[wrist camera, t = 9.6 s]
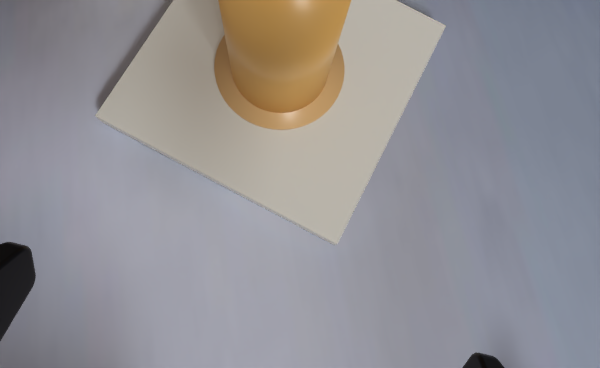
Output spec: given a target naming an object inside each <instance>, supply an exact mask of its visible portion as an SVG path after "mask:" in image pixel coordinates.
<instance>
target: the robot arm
mask: <svg viewBox="0 0 600 368" xmlns="http://www.w3.org/2000/svg"><path fill="white" fill-rule="evenodd" d="M35 276H36V275H35V269H34V263H33V257H32V252H31V249H30V248H29V247H28V246H25V245H21V244H17V243H12V242H6V243H2V244H0V341H1V339H2V337H3V336H4V334H5V332H6V331H7V329H8V327H9V326H10V324H11V322H12V321H13V319H14V317H15V316H16V314H17V312H18V311H19V309H20V307H21V306H22V304H23V302H24V301H25V299H26V297H27V295H28V294H29V292H30V290H31V289H32V287H33V285H34V282H35ZM463 368H504V367H503V365H502V364H501V363H500V361H499V360H498V359H497V358H495V357H493V356H490V355H486V354H482V353H474V354H472V355H471V357H470V358H469V359H468V361H467V362H466V364H465V365H464V366H463Z"/></svg>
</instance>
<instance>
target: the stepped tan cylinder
mask: <svg viewBox="0 0 600 368" xmlns="http://www.w3.org/2000/svg"><path fill="white" fill-rule="evenodd" d="M218 2H219V7H220V12H221V18H222V23H223V29H224V34H225V39H226V45H227V50H228V56H229V61H230V66H231V72H232V77H233V80H234V83H235V85H236V87H237V89H238V90H239V92H240V93H241V95H242V96H243V97H244V98H245V99H246V100H247V101H248V102H250V103H251V104H253V105H254V106H256V107H258V108H260V109H262V110H265V111H269V112H274V113H288V112H293V111H297V110H299V109H302V108H304V107H306V106H307V105H309V104H310V103H312V102H313V101H314V100H315V99H316V98H317V97H318V96H319V95H320V93H321V92H322V90H323V88H324V86H325V84H326V81H327V78H328V74H329V71H330V68H331V65H332V62H333V58H334V55H335V52H336V49H337V45H338V42H339V39H340V36H341V32H342V29H343V26H344V23H345V19H346V16H347V13H348V10H349V6H350V3H351V0H218Z"/></svg>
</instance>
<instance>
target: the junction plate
mask: <svg viewBox="0 0 600 368" xmlns="http://www.w3.org/2000/svg"><path fill="white" fill-rule="evenodd" d="M445 27H446V25H444V24H442V23H440V22H438V21H436V20H434V19H432V18H430V17H428V16H426V15H424V14H422V13H420V12H418V11H416V10H414V9H412V8H410V7H408V6H406V5H404V4H402V3H401V2H399V1H397V0H351V3H350V6H349V10H348V13H347V16H346V19H345V23H344V26H343V29H342V32H341V36H340V39H339V42H338V45H337V49H336V52H335V55H334V58H333V62H332V65H331V68H330V71H329V74H328V78H327V81H326V84H325V86H324V88H323V90H322V92H321V93H320V95H319V96H318V97H317V98H316V99H315V100H314V101H313V102H312V103H310V104H309V105H307V106H306V107H304V108H302V109H299V110H297V111H293V112H288V113H274V112H269V111H265V110H262V109H260V108H258V107H256V106H254V105H253V104H251V103H250V102H248V101H247V100H246V99H245V98H244V97H243V96H242V95H241V93H240V92H239V90H238V89H237V87H236V85H235V83H234V80H233V77H232V72H231V66H230V61H229V56H228V50H227V45H226V39H225V34H224V29H223V23H222V18H221V12H220V7H219V2H218V0H173V1H172V3H171V4H170V6H169V7H168V9H167V10H166V12H165V13H164V15H163V16H162V18H161V19H160V21H159V22H158V24H157V25H156V26H155V28H154V29H153V31H152V32H151V34H150V35H149V37H148V38H147V40H146V41H145V43H144V44H143V46H142V47H141V49H140V50H139V52H138V53H137V55H136V56H135V58H134V59H133V60H132V62H131V63H130V65H129V66H128V68H127V69H126V71H125V72H124V74H123V75H122V77H121V78H120V80H119V81H118V83H117V84H116V86H115V87H114V89H113V90H112V92H111V93H110V94H109V96H108V97H107V99H106V100H105V102H104V103H103V105H102V106H101V108H100V109H99V111H98V112H97V114H96V115H95V116H96V117H97V118H98V119H99V120H101V121H102V122H103V123H105V124H107V125H109V126H110V127H112V128H114V129H116V130H118V131H120V132H122V133H124V134H125V135H127V136H129V137H131V138H133V139H135V140H137V141H139V142H141V143H142V144H144V145H146V146H148V147H150V148H152V149H154V150H156V151H158V152H159V153H161V154H163V155H165V156H167V157H169V158H171V159H173V160H174V161H176V162H178V163H180V164H182V165H184V166H186V167H188V168H190V169H191V170H193V171H195V172H197V173H199V174H201V175H203V176H205V177H206V178H208V179H210V180H212V181H214V182H216V183H218V184H220V185H222V186H223V187H225V188H227V189H229V190H231V191H233V192H235V193H237V194H238V195H240V196H242V197H244V198H246V199H248V200H250V201H252V202H254V203H255V204H257V205H259V206H261V207H263V208H265V209H267V210H269V211H271V212H272V213H274V214H276V215H278V216H280V217H282V218H284V219H286V220H287V221H289V222H291V223H293V224H295V225H297V226H299V227H301V228H303V229H304V230H306V231H308V232H310V233H312V234H314V235H316V236H318V237H319V238H321V239H323V240H325V241H327V242H329V243H331V244H333V245H337V244H338V242H339V240H340V238H341V236H342V234H343V232H344V230H345V228H346V226H347V224H348V222H349V220H350V218H351V216H352V214H353V212H354V210H355V208H356V206H357V204H358V202H359V200H360V197H361V195H362V193H363V191H364V189H365V187H366V185H367V183H368V181H369V179H370V177H371V175H372V173H373V171H374V169H375V167H376V165H377V163H378V161H379V159H380V157H381V155H382V153H383V151H384V149H385V147H386V145H387V143H388V141H389V139H390V137H391V135H392V133H393V131H394V129H395V127H396V125H397V123H398V121H399V119H400V117H401V115H402V113H403V111H404V109H405V107H406V105H407V103H408V101H409V99H410V97H411V95H412V93H413V91H414V89H415V87H416V85H417V83H418V81H419V79H420V77H421V75H422V73H423V71H424V69H425V67H426V65H427V63H428V61H429V59H430V57H431V55H432V53H433V51H434V49H435V47H436V45H437V43H438V41H439V39H440V37H441V35H442V33H443V31H444V29H445Z"/></svg>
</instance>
